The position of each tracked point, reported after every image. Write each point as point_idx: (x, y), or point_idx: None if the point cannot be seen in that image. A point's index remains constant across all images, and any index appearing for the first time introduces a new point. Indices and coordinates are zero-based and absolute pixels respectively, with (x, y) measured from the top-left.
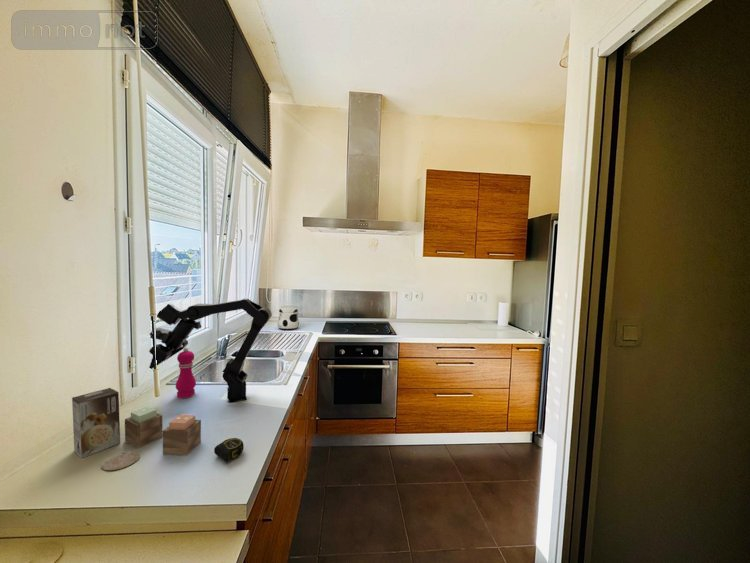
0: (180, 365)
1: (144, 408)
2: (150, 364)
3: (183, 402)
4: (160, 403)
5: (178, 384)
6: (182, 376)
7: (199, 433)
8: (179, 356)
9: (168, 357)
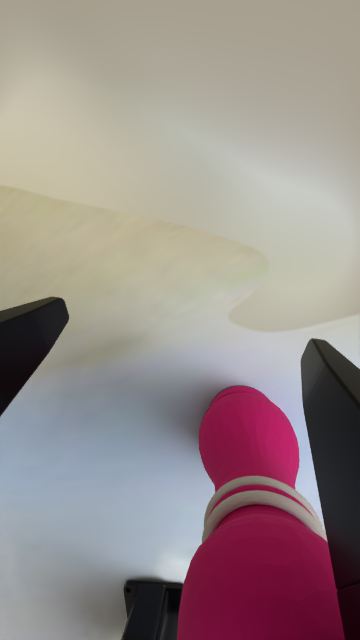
0: (213, 511)
1: None
2: (13, 309)
3: (168, 420)
4: (179, 340)
5: (208, 420)
6: (215, 462)
7: None
8: (203, 613)
9: (312, 426)
